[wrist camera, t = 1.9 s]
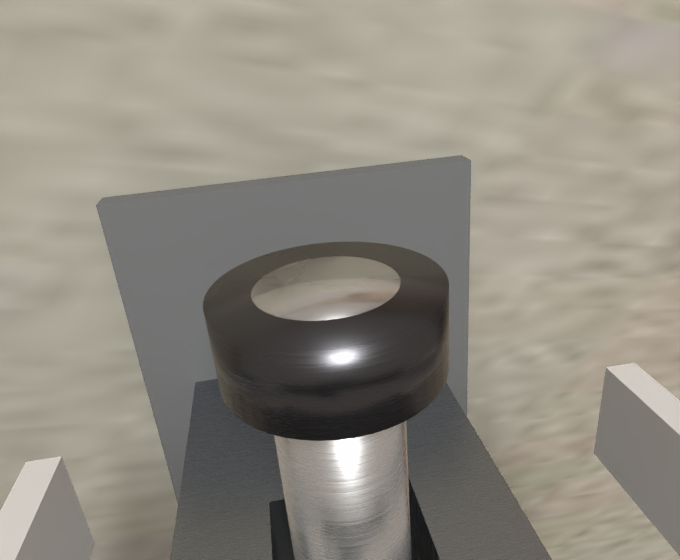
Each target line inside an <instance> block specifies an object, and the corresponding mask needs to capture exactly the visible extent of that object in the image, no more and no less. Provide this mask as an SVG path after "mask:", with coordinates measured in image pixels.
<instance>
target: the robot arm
mask: <svg viewBox="0 0 680 560" xmlns="http://www.w3.org/2000/svg"><path fill="white" fill-rule="evenodd" d="M594 454H595V455H596V456H597V457H598V459H599V460H600V461H601V462H602V463H603V464H604V466H605V467H606V468H607V469H608V470H609V472H610V473H611V474H612V475H613V476H614V478H615V479H616V480H617V481H618V482H619V484H620V485H621V486H622V487H623V488H624V490H625V491H626V492H627V493H628V494H629V496H630V497H631V498H632V499H633V500H634V502H635V503H636V504H637V505H638V506H639V508H640V509H641V510H642V511H643V512H644V514H645V515H646V516H647V517H648V518H649V520H650V521H651V522H652V523H653V524H654V526H655V527H656V528H657V529H658V530H659V532H660V533H661V534H662V535H663V536H664V538H665V539H666V540H667V541H668V542H669V544H670V545H671V546H672V547H673V548H674V550H675V551H676V552H677V553H678V554H679V556H680V401H679V400H678V399H677V398H676V397H675V396H673V395H672V394H671V393H670V392H669V391H668V390H666V389H665V388H664V387H663V386H662V385H660V384H659V383H658V382H657V381H656V380H654V379H653V378H652V377H651V376H650V375H648V374H647V373H646V372H645V371H644V370H642V369H641V368H640V367H639V366H638V365H636V364H635V363H630V364H624V365H618V366H612V367H606V372H605V379H604V386H603V393H602V400H601V407H600V414H599V421H598V428H597V435H596V442H595V449H594ZM93 546H94V541H93V538H92V536H91V533H90V530H89V528H88V525H87V522H86V520H85V517H84V514H83V512H82V509H81V506H80V504H79V501H78V499H77V496H76V493H75V491H74V488H73V485H72V483H71V480H70V477H69V475H68V472H67V469H66V467H65V464H64V461H63V459H62V456H60V457H54V458H48V459H42V460H36V461H30V462H26V463H25V465H24V467H23V469H22V471H21V473H20V475H19V476H18V478H17V480H16V482H15V484H14V486H13V488H12V490H11V492H10V493H9V495H8V497H7V499H6V501H5V503H4V505H3V507H2V509H1V511H0V560H89V559H90V555H91V552H92V549H93Z"/></svg>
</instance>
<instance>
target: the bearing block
mask: <svg viewBox="0 0 680 560" xmlns="http://www.w3.org/2000/svg"><path fill="white" fill-rule="evenodd" d="M406 430H407V455H408V480H409V505H410V531H411V556H412V560H552V559H551V557H550V556H549V554H548V552H547V551H546V549H545V547H544V546H543V544H542V542H541V541H540V539H539V537H538V536H537V534H536V532H535V530H534V529H533V527H532V525H531V524H530V522H529V520H528V519H527V517H526V515H525V514H524V512H523V510H522V509H521V507H520V505H519V504H518V502H517V500H516V499H515V497H514V495H513V494H512V492H511V490H510V488H509V487H508V485H507V483H506V482H505V480H504V478H503V477H502V475H501V473H500V472H499V470H498V468H497V467H496V465H495V463H494V462H493V460H492V458H491V457H490V455H489V453H488V452H487V450H486V448H485V446H484V445H483V443H482V441H481V440H480V438H479V436H478V435H477V433H476V431H475V430H474V428H473V426H472V425H471V423H470V421H469V420H468V418H467V416H466V415H465V413H464V411H463V410H462V408H461V406H460V405H459V403H458V401H457V399H456V398H455V396H454V394H453V393H452V391H451V389H450V388H449V386H448V384H447V383H445V385H444V387H443V389H442V391H441V392H440V393H439V395H438V396H437V398H436V399H435V400H434V401H433V402H432V403H431V404H430V405H429V406H428V407H426V408H425V409H424V410H422V411H421V412H420V413H418V414H417V415H415V416H413V417H412V418H410V419H408V420H406ZM171 560H295V559H294V553H293V547H292V541H291V534H290V528H289V522H288V516H287V510H286V504H285V498H284V492H283V486H282V480H281V474H280V468H279V462H278V456H277V450H276V444H275V438H274V435H272V434H268V433H266V432H263V431H260V430H258V429H255V428H253V427H251V426H250V425H248V424H246V423H244V422H243V421H241V420H240V419H239V418H237V417H236V416H235V415H234V414H233V413H232V412H231V411H230V410H229V409H228V407H227V406H226V404H225V403H224V401H223V399H222V396H221V392H220V389H219V384H218V379H213V380H207V381H200V382H195V389H194V396H193V403H192V411H191V418H190V425H189V432H188V439H187V446H186V453H185V460H184V467H183V474H182V481H181V489H180V496H179V503H178V510H177V517H176V524H175V531H174V538H173V545H172V552H171Z"/></svg>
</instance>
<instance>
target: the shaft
mask: <svg viewBox="0 0 680 560" xmlns="http://www.w3.org/2000/svg"><path fill="white" fill-rule="evenodd" d="M203 312H204V317H205V321H206V326H207V331H208V336H209V341H210V345H211V350H212V355H213V360H214V365H215V369H216V374H217V379H218V384H219V389H220V392H221V396H222V399H223V401H224V403H225V404H226V406H227V407H228V409H229V410H230V411H231V412H232V413H233V414H234V415H235V416H236V417H237V418H239V419H240V420H241V421H243V422H244V423H246V424H248V425H250V426H251V427H253V428H255V429H258V430H260V431H263V432H266V433H268V434H272V435H274V438H275V444H276V450H277V456H278V462H279V468H280V474H281V480H282V486H283V492H284V498H285V504H286V510H287V516H288V522H289V528H290V534H291V541H292V547H293V553H294V559H295V560H412V556H411V531H410V505H409V480H408V455H407V430H406V420H408V419H410V418H412V417H413V416H415V415H417V414H418V413H420V412H421V411H422V410H424V409H425V408H426V407H428V406H429V405H430V404H431V403H432V402H433V401H434V400H435V399H436V398H437V396H438V395H439V393H440V392H441V391H442V389H443V387H444V385H445V383H446V381H447V378H448V373H449V280H448V277H447V274H446V273H445V271H444V270H443V268H442V267H441V266H440V265H439V264H437V263H436V262H435V261H433V260H432V259H430V258H429V257H427V256H425V255H423V254H421V253H418V252H415V251H413V250H410V249H406V248H402V247H398V246H393V245H388V244H381V243H372V242H352V241H351V242H326V243H317V244H309V245H302V246H297V247H292V248H287V249H283V250H279V251H275V252H272V253H269V254H265V255H262V256H259V257H257V258H254V259H252V260H249V261H247V262H245V263H243V264H240V265H239V266H237V267H235V268H233V269H231V270H230V271H228V272H227V273H225V274H224V275H222V276H221V277H220V278H219V279H218V280H216V281H215V282H214V283H213V284H212V286H211V287H210V288H209V289H208V291H207V293H206V294H205V297H204V300H203Z"/></svg>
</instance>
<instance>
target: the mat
mask: <svg viewBox="0 0 680 560" xmlns="http://www.w3.org/2000/svg"><path fill="white" fill-rule="evenodd" d="M470 188H471V160H470V159H468V158H466V157H464V156H462V155H461V156H452V157H444V158H435V159H427V160H418V161H410V162H402V163H393V164H385V165H376V166H368V167H359V168H351V169H343V170H334V171H326V172H317V173H309V174H300V175H292V176H283V177H275V178H267V179H258V180H250V181H241V182H233V183H224V184H216V185H208V186H199V187H191V188H182V189H174V190H165V191H157V192H148V193H140V194H132V195H123V196H115V197H106V198H102V199H101V200H100V201H99V203H98V204H97V205H96V206H97V210H98V214H99V217H100V221H101V224H102V228H103V232H104V235H105V239H106V243H107V246H108V250H109V254H110V257H111V261H112V265H113V268H114V272H115V275H116V279H117V283H118V286H119V290H120V294H121V297H122V301H123V305H124V308H125V312H126V316H127V319H128V323H129V326H130V330H131V334H132V337H133V341H134V345H135V348H136V352H137V356H138V359H139V363H140V367H141V370H142V374H143V377H144V381H145V385H146V388H147V392H148V396H149V399H150V403H151V407H152V410H153V414H154V418H155V421H156V425H157V428H158V432H159V436H160V439H161V443H162V447H163V450H164V454H165V458H166V461H167V465H168V468H169V472H170V476H171V479H172V483H173V487H174V490H175V494H176V498H177V501H178V503H179V496H180V489H181V481H182V474H183V467H184V460H185V453H186V446H187V439H188V432H189V425H190V418H191V411H192V403H193V396H194V389H195V382H200V381H207V380H213V379H217V374H216V369H215V365H214V360H213V355H212V350H211V345H210V341H209V336H208V331H207V326H206V321H205V317H204V312H203V300H204V297H205V294H206V293H207V291H208V289H209V288H210V287H211V286H212V284H213V283H214V282H215V281H216V280H218V279H219V278H220V277H221V276H222V275H224V274H225V273H227V272H228V271H230V270H231V269H233V268H235V267H237V266H239V265H240V264H243V263H245V262H247V261H249V260H252V259H254V258H257V257H259V256H262V255H265V254H269V253H272V252H275V251H279V250H283V249H287V248H292V247H297V246H302V245H309V244H317V243H326V242H351V241H352V242H372V243H381V244H388V245H393V246H398V247H402V248H406V249H410V250H413V251H415V252H418V253H421V254H423V255H425V256H427V257H429V258H430V259H432V260H433V261H435V262H436V263H437V264H439V265H440V266H441V267H442V268H443V270H444V271H445V273H446V274H447V277H448V280H449V373H448V378H447V381H446V383H447V384H448V386H449V388H450V389H451V391H452V393H453V394H454V396H455V398H456V399H457V401H458V403H459V405H460V406H461V408H462V410H463V411H464V413H465V415H466V416H467V364H468V305H469V246H470Z"/></svg>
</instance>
